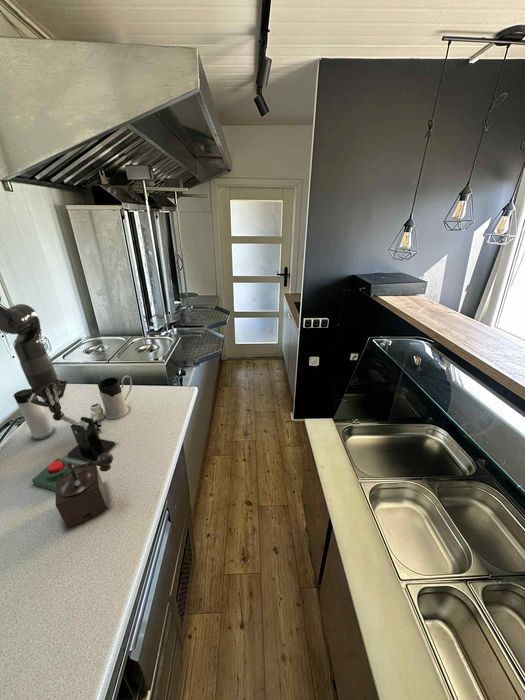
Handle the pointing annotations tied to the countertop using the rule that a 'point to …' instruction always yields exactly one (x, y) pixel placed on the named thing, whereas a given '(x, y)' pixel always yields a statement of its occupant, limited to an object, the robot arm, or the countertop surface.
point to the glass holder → (113, 397)
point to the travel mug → (33, 415)
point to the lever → (70, 420)
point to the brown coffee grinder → (82, 491)
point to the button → (55, 467)
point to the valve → (97, 414)
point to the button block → (52, 476)
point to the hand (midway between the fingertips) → (56, 412)
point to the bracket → (88, 442)
